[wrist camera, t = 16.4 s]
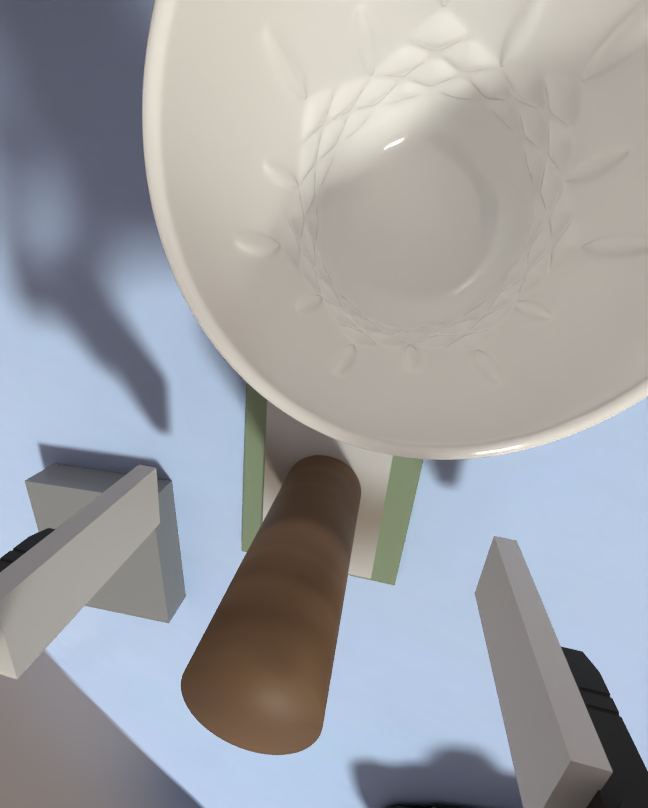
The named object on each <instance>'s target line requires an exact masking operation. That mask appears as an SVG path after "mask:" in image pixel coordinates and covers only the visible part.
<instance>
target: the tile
mask: <svg viewBox="0 0 648 808" xmlns="http://www.w3.org/2000/svg"><path fill="white" fill-rule="evenodd" d="M125 475H126V474H122V473H115V472H108V471H102V470H95V469H88V468H81V467H74V466H68V465H61V464H53V465H51V466H50V467H48V468H46V469H44V470H43V471H41V472H39V473H37V474H36V475H34V476H32V477H31V478H29V479H27V480H25V483H26V487H27V491H28V494H29V498H30V502H31V505H32V509H33V512H34V516H35V520H36V523H37V527H38V531H39V532H40V531H42V530H45V529H47V528H52V529H57V528H58V527H59V526H61V525H62V524H63V523H64V522H66V521H67V520H68V519H70V518H71V517H72V516H73V515H75V514H76V513H77V512H79V511H80V510H81V509H82V508H84V507H85V506H86V505H88V504H89V503H90V502H91V501H93V500H94V499H95V498H97V497H98V496H99V495H100V494H102V493H103V492H104V491H106V490H107V489H108V488H109V487H111V486H112V485H113V484H115V483H116V482H117V481H118V480H120V479H121V478H122V477H124V476H125ZM157 484H158V499H159V514H160V524H159V525H158V526H157V527H156V528H155V529H154V530H153V532H152V533H151V534H150V535H149V536H148V537H147V538H146V539H145V540H144V541H143V542H142V544H141V545H140V546H139V547H138V548H137V549H136V550H135V551H134V552H133V553H132V554H131V556H130V557H129V558H128V559H127V560H126V561H125V562H124V563H123V564H122V565H121V567H120V568H119V569H118V570H117V571H116V572H115V573H114V574H113V575H112V576H111V577H110V579H109V580H108V581H107V582H106V583H105V584H104V585H103V586H102V587H101V588H100V589H99V591H98V592H97V593H96V594H95V595H94V596H93V597H92V598H91V599H90V600H89V601H88V603H87V604H86V605H85V606H89V607H94V608H98V609H103V610H108V611H113V612H118V613H122V614H127V615H132V616H137V617H142V618H146V619H151V620H156V621H161V622H166V623H169V622H170V620H171V619H172V617H173V616H174V614H175V612H176V611H177V609H178V608H179V606H180V605H181V603H182V602H183V600H184V598H185V597H186V595H185V587H184V578H183V570H182V562H181V553H180V545H179V537H178V528H177V520H176V512H175V503H174V495H173V486H172V481H170V480H163V479H157Z"/></svg>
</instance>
